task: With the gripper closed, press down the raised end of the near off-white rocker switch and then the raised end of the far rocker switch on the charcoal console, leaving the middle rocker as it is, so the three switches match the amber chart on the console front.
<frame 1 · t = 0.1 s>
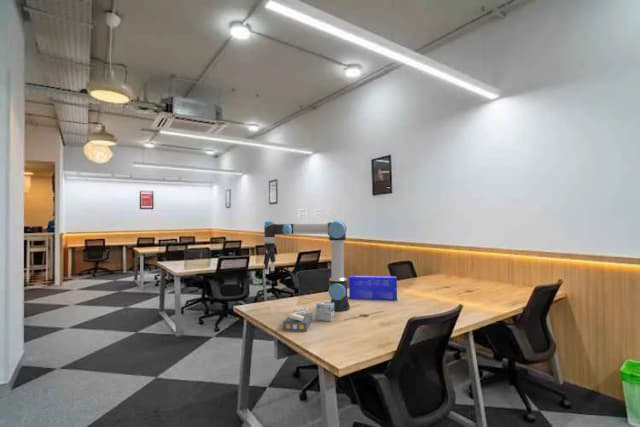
hand: (269, 272, 236), 28 cm above the table, fingers open, 13 cm apart
rocker far: (300, 310, 210), point 8 cm above the table, hinge at 14.0°
rocker near: (295, 316, 197), point 8 cm above the table, hinge at -14.0°
rocker mid: (298, 313, 203), point 8 cm above the table, hinge at 14.0°
light bulb box: (325, 319, 216), on the table
console: (298, 325, 203), on the table
toner cartridge box: (372, 298, 273), on the table
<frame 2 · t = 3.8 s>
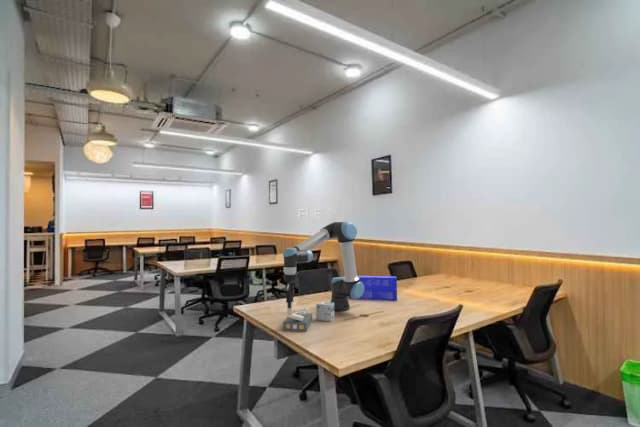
hand: (289, 313, 197), 10 cm above the table, fingers closed
rocker near: (295, 316, 197), point 8 cm above the table, hinge at -13.3°, touching gripper
everything else where it was.
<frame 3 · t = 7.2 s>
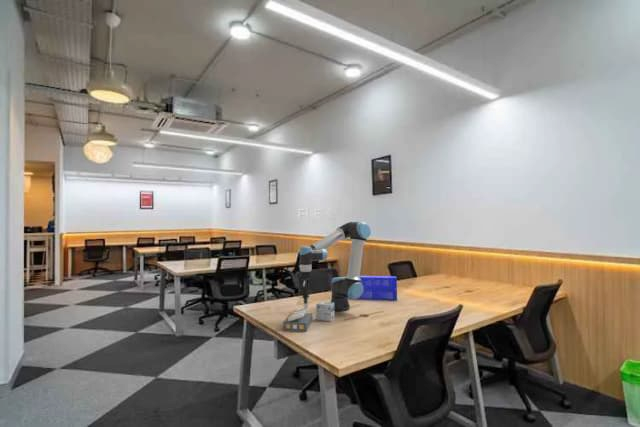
hand: (305, 308, 209), 9 cm above the table, fingers closed
rocker far: (300, 310, 210), point 8 cm above the table, hinge at 13.5°, touching gripper
rocker near: (295, 316, 197), point 8 cm above the table, hinge at 17.9°
everything else where it was.
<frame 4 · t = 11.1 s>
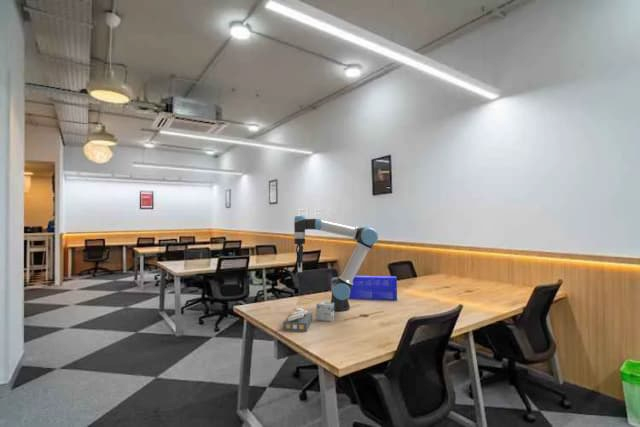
hand: (299, 271, 228), 29 cm above the table, fingers closed
rocker far: (300, 310, 209), point 8 cm above the table, hinge at -17.4°
rocker near: (295, 316, 197), point 8 cm above the table, hinge at 18.3°
everything else where it was.
at the end: rocker near at +18° (first picture: -14°); rocker far at -17° (first picture: +14°); rocker mid at +14° (first picture: +14°) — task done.
